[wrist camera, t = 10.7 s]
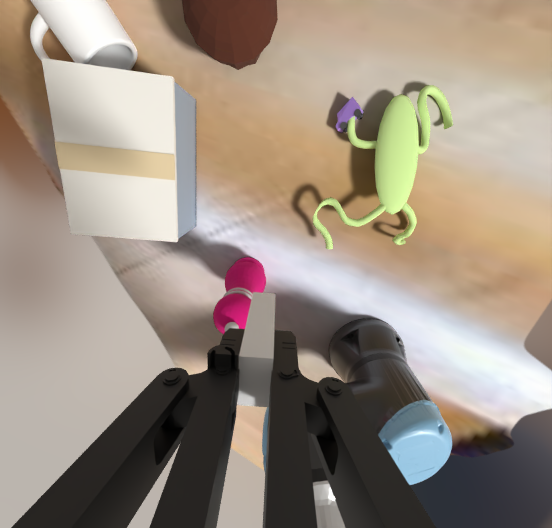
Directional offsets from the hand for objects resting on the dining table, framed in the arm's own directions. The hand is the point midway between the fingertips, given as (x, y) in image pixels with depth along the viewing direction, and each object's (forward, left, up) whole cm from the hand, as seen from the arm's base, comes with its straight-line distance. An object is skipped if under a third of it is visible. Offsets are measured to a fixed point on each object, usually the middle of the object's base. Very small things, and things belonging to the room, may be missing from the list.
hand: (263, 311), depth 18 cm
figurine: (+9, -17, -32) cm, 37 cm away
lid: (+8, +21, -22) cm, 31 cm away
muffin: (+27, +8, -32) cm, 42 cm away
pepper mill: (-10, +4, -32) cm, 33 cm away
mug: (+23, +29, -32) cm, 49 cm away
